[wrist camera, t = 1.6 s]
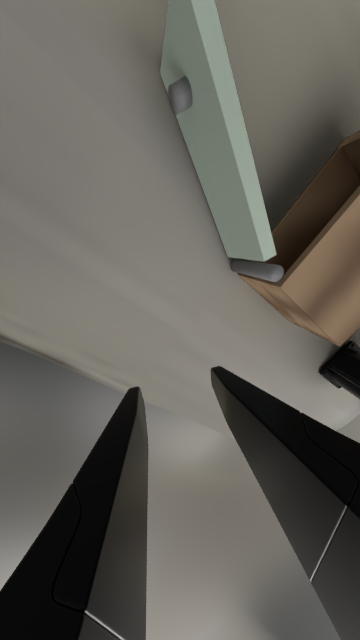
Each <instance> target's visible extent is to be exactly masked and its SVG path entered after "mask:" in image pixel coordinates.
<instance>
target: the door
mask: <svg viewBox="0 0 360 640" xmlns="http://www.w3.org/2000/svg"><path fill="white" fill-rule="evenodd" d="M160 74H161V77H162V80H163V82H164V85H165V88H166V91H167V93H168V96H169V101H170V105H171V108H172V110H173V112H174V114H175V115H176V118H177V120H178V123H179V126H180V128H181V131H182V134H183V137H184V139H185V142H186V145H187V147H188V150H189V153H190V156H191V158H192V161H193V164H194V166H195V169H196V172H197V175H198V177H199V180H200V183H201V185H202V188H203V191H204V194H205V196H206V199H207V202H208V204H209V207H210V210H211V213H212V215H213V218H214V221H215V223H216V226H217V229H218V232H219V234H220V237H221V240H222V242H223V245H224V248H225V250H226V253H227V256H228V257H231V258H239V259H247V260H255V261H263V262H265V261H266V260H268V259H270V258H272V257H273V256H275V255H277V254H276V250H275V246H274V242H273V238H272V234H271V230H270V225H269V221H268V217H267V213H266V209H265V205H264V201H263V197H262V193H261V189H260V185H259V180H258V176H257V172H256V168H255V164H254V160H253V156H252V152H251V148H250V144H249V140H248V135H247V131H246V127H245V123H244V119H243V115H242V111H241V107H240V103H239V99H238V95H237V90H236V86H235V82H234V78H233V74H232V70H231V66H230V62H229V58H228V54H227V50H226V45H225V41H224V37H223V33H222V29H221V25H220V21H219V17H218V13H217V9H216V5H215V0H169V1H168V9H167V18H166V26H165V35H164V43H163V52H162V60H161V69H160ZM231 269H232V270H233V271H235V272H238V273H242V274H246V275H249V276H253V277H257V278H261V279H264V280H268V281H272V282H277V281H279V280H280V279H281V278H282V276H283V273H284V269H283V267H282V266H280V265H275V264H267V263H260V262H253V261H245V260H238V259H236V260H234V261H233V262H232V263H231Z"/></svg>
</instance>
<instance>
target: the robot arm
mask: <svg viewBox="0 0 360 640" xmlns="http://www.w3.org/2000/svg"><path fill="white" fill-rule="evenodd" d="M319 373H320V374H321V375H322V376H323V377H325V378H326V379H327V380H328V381H330V382H331V383H332V384H333V385H335V386H336V387H337V388H341V387H343V388H344V389H346V390H347V391H349V392H350V393H351V394H353V395H354V396H356V397H357V398H359V399H360V348H359V347H358V346H357V344H356V343H354V342H352V341H350V342H348V343H347V344H346V345H345V346H344V347H343V348H342V349H341V350H340V351H339V352H338V353H337V354H336V355H335V356H334V357H333V358H332V359H331V360H330V361H329V362H328V363H327V364H326V365H325V366H324V367H323V368H322V369H321V370H320V371H319ZM211 382H212V387H213V389H214V392H215V395H216V397H217V400H218V402H219V405H220V407H221V410H222V412H223V415H224V417H225V419H226V422H227V424H228V426H229V428H230V430H231V432H232V434H233V435H234V437H235V439H236V441H237V443H238V445H239V447H240V449H241V450H242V453H243V454H244V456H245V458H246V460H247V462H248V464H249V466H250V468H251V469H252V471H253V473H254V475H255V477H256V479H257V481H258V483H259V485H260V487H261V488H262V490H263V492H264V494H265V496H266V498H267V500H268V502H269V504H270V505H271V507H272V509H273V511H274V513H275V515H276V517H277V519H278V521H279V522H280V525H281V527H282V528H283V530H284V532H285V534H286V536H287V538H288V540H289V542H290V543H291V546H292V547H293V549H294V551H295V553H296V555H297V557H298V559H299V561H300V563H301V564H302V566H303V568H304V570H305V572H306V574H307V576H308V578H309V580H311V584H312V586H313V588H314V589H315V591H316V593H317V595H318V597H319V599H320V601H321V603H322V605H323V607H324V608H325V610H326V612H327V614H328V616H329V618H330V620H331V622H332V624H333V625H334V627H335V629H336V631H337V633H338V635H339V637H340V639H341V640H360V443H358V442H356V441H354V440H352V439H350V438H348V437H346V436H344V435H342V434H340V433H338V432H336V431H334V430H333V429H331V428H329V427H327V426H325V425H323V424H322V423H320V422H318V421H316V420H314V419H312V418H311V417H309V416H307V415H305V414H304V413H300V411H298V410H296V409H295V408H293V407H291V406H289V405H288V404H286V403H284V402H282V401H281V400H279V399H277V398H275V397H274V396H272V395H270V394H268V393H267V392H265V391H263V390H261V389H260V388H258V387H256V386H254V385H253V384H251V383H249V382H247V381H245V380H244V379H242V378H240V377H238V376H237V375H235V374H233V373H231V372H230V371H228V370H226V369H224V368H223V367H221V366H217V367H213V368H211ZM147 500H148V436H147V425H146V415H145V406H144V400H143V397H142V393H141V390H140V387H138V386H137V387H133V388H130V389H129V390H128V391H127V393H126V394H125V396H124V398H123V399H122V401H121V403H120V404H119V406H118V408H117V409H116V411H115V413H114V414H113V416H112V417H111V419H110V421H109V422H108V424H107V426H106V427H105V429H104V431H103V432H102V434H101V436H100V437H99V439H98V441H97V442H96V444H95V446H94V447H93V449H92V450H91V452H90V454H89V455H88V457H87V459H86V460H85V462H84V464H83V465H82V467H81V468H80V470H79V472H78V473H77V475H76V477H75V479H74V480H73V483H72V484H71V485H70V486H69V488H68V490H67V491H66V493H65V495H64V496H63V498H62V499H61V501H60V503H59V504H58V506H57V508H56V509H55V511H54V512H53V514H52V515H51V517H50V518H49V520H48V522H47V523H46V525H45V526H44V528H43V529H42V531H41V532H40V534H39V535H38V537H37V538H36V540H35V541H34V543H33V544H32V546H31V547H30V549H29V550H28V552H27V553H26V555H25V556H24V558H23V559H22V561H21V562H20V563H19V565H18V566H17V568H16V569H15V571H14V572H13V574H12V575H11V576H10V578H9V579H8V581H7V582H6V583H5V585H4V586H3V588H2V589H1V591H0V640H146V575H147V504H148V501H147Z"/></svg>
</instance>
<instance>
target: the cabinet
mask: <svg viewBox="0 0 360 640" xmlns="http://www.w3.org/2000/svg"><path fill="white" fill-rule="evenodd" d="M271 234H272V238H273V242H274V246H275V250H276V254H277V255H275V256H273V257H272V258H270V259H268V260H266V261H265V262H263V261H255V260H249V261H253V262H260V263H267V264H275V265H280V266H282V267H283V269H284V273H283V276H282V278H281V279H280V280H279V281H277V282H272V281H268V280H264V279H261V278H257V277H253V276H249V275H246V274H242V273H239V274H238V275H239V276H240V277H241V278H242V279H243V280H244V281H245V282H246V283H247V284H249V285H250V286H251V287H252V288H253V289H254V290H255V291H256V292H257V293H259V294H260V295H261V296H262V297H263V298H264V299H265V300H266V301H267V302H268V303H270V304H271V305H272V306H273V307H274V308H275V309H276V310H277V311H278V312H280V313H281V314H282V315H283V316H284V317H285V318H286V319H287V320H288V321H290V322H292V323H294V324H296V325H298V326H300V327H302V328H304V329H305V330H307V331H309V332H311V333H313V334H315V335H317V336H319V337H321V338H323V339H325V340H327V341H329V342H331V343H333V344H335V345H337V346H339V347H340V346H341V345H342V344H343V343H344V342H345V341H346V340H347V339H348V338H349V337H350V336H351V335H352V334H353V333H354V332H355V331H356V330H357V329H358V328H359V327H360V131H359V132H357V133H355V134H353V135H351V136H349V137H347V138H345V140H344V141H343V142H342V143H341V145H340V146H339V147H338V149H337V150H336V151H335V152H334V154H333V155H332V156H331V157H330V159H329V160H328V161H327V163H326V164H325V165H324V166H323V168H322V169H321V170H320V171H319V173H318V174H317V175H316V177H315V178H314V179H313V180H312V182H311V183H310V184H309V185H308V187H307V188H306V189H305V190H304V192H303V193H302V194H301V196H300V197H299V198H298V199H297V201H296V202H295V203H294V204H293V206H292V207H291V208H290V210H289V211H288V212H287V213H286V215H285V216H284V217H283V218H282V220H281V221H280V222H279V223H278V225H277V226H276V227H275V229H274V230H273V231H272V232H271Z"/></svg>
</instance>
